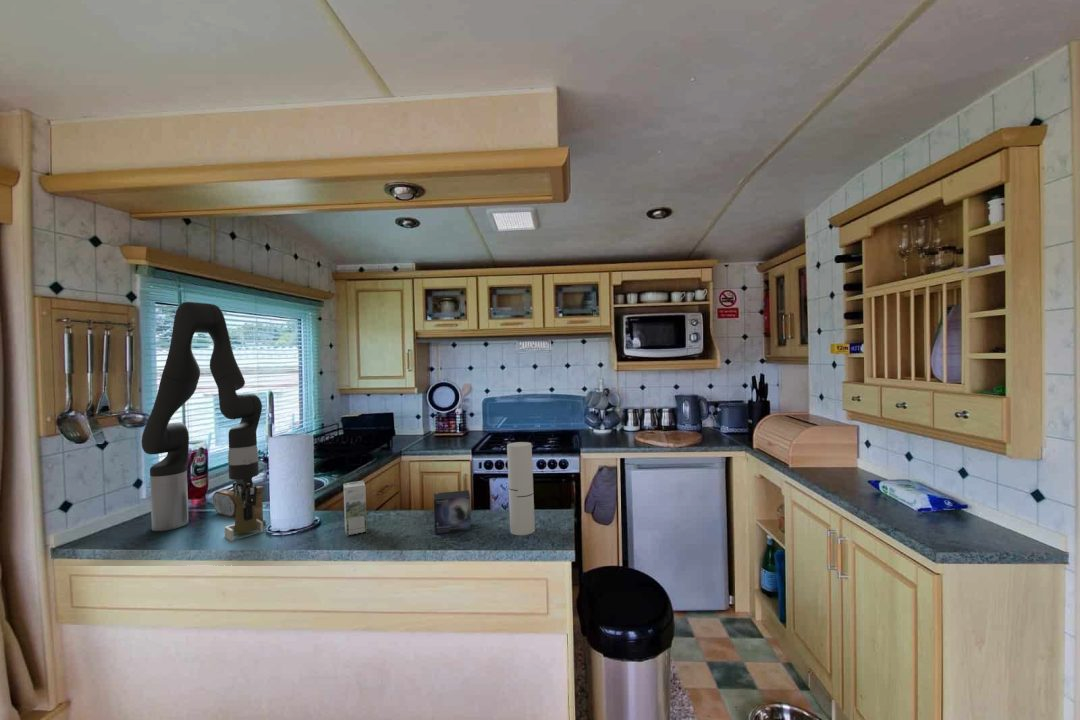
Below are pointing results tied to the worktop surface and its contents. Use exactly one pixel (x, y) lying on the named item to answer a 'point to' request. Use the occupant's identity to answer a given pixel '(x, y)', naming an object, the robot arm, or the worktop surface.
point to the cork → (240, 522)
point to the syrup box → (355, 508)
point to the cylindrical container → (520, 488)
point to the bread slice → (225, 503)
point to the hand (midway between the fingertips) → (245, 518)
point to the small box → (452, 512)
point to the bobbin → (259, 505)
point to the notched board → (233, 536)
